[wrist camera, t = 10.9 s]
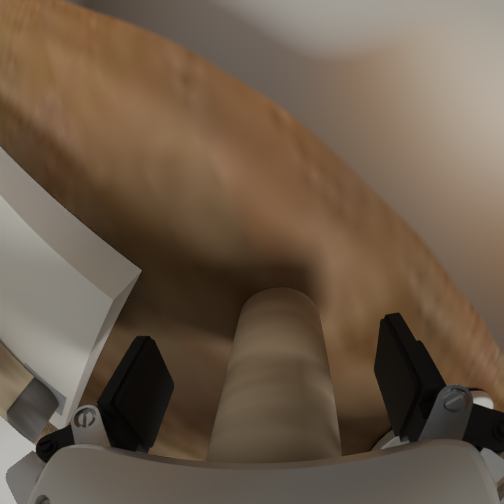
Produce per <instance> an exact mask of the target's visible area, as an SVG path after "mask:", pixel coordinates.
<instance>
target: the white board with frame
mask: <svg viewBox="0 0 504 504" xmlns="http://www.w3.org/2000/svg"><path fill="white" fill-rule="evenodd" d="M141 272H142V270H141V269H140V268H138V267H137V266H136V265H134V264H133V263H132V262H130V261H129V260H128V259H126V258H125V257H124V256H123V255H121V254H120V253H119V252H117V251H116V250H115V249H114V248H112V247H111V246H110V245H109V244H107V243H106V242H105V241H104V240H102V239H101V238H100V237H99V236H97V235H96V234H95V233H94V232H92V231H91V230H90V229H89V228H88V227H86V226H85V225H84V224H83V223H82V222H80V221H79V220H78V219H77V218H76V217H75V216H73V215H72V214H71V213H70V212H69V211H68V210H67V209H65V208H64V207H63V206H62V205H61V204H60V203H59V202H57V201H56V200H55V199H54V198H53V197H52V196H51V195H50V194H49V193H47V192H46V191H45V190H44V189H43V188H42V187H41V186H40V185H39V184H38V183H37V182H36V181H35V180H34V179H32V178H31V177H30V176H29V175H28V174H27V173H26V172H25V171H24V170H23V169H22V168H21V167H20V166H19V165H18V164H17V163H16V162H15V161H14V160H13V159H12V158H11V157H10V156H9V155H8V154H7V153H6V152H5V151H4V150H3V149H2V148H1V147H0V342H1V343H2V344H3V345H4V346H5V347H6V349H7V350H8V351H9V352H10V353H11V354H12V355H13V356H14V357H15V358H16V359H17V360H18V361H19V362H20V363H21V364H22V365H23V366H24V367H25V368H26V369H27V370H28V371H29V372H30V373H31V374H32V375H33V376H34V378H35V379H37V380H38V381H40V382H41V383H42V384H43V385H45V386H46V387H47V388H48V389H49V390H50V391H51V392H52V394H53V395H54V396H55V398H56V399H57V401H58V403H59V406H58V408H57V409H56V411H55V412H54V414H53V415H52V417H51V418H50V420H49V422H50V423H51V424H52V425H54V426H55V427H56V428H58V429H59V430H60V429H62V428H64V427H67V425H68V423H69V422H70V420H71V417H72V414H73V413H74V412H75V411H76V410H77V407H78V405H79V402H80V400H81V397H82V395H83V392H84V390H85V387H86V385H87V383H88V380H89V378H90V375H91V373H92V371H93V369H94V366H95V364H96V362H97V360H98V357H99V355H100V353H101V351H102V349H103V346H104V344H105V342H106V340H107V338H108V336H109V334H110V332H111V330H112V328H113V325H114V323H115V321H116V319H117V317H118V315H119V313H120V311H121V309H122V308H123V306H124V304H125V302H126V300H127V298H128V296H129V294H130V292H131V290H132V288H133V287H134V285H135V283H136V281H137V279H138V277H139V276H140V274H141Z"/></svg>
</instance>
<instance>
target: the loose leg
mask: <svg viewBox="0 0 504 504" xmlns="http://www.w3.org/2000/svg"><path fill="white" fill-rule="evenodd" d="M341 456H342V450H341V442H340V434H339V427H338V420H337V413H336V406H335V399H334V393H333V387H332V381H331V375H330V369H329V363H328V358H327V352H326V347H325V341H324V336H323V331H322V326H321V321H320V316H319V312H318V309H317V307H316V305H315V303H314V302H313V301H312V300H311V299H310V298H309V297H308V296H307V295H305V294H304V293H302V292H300V291H298V290H295V289H292V288H287V287H273V288H268V289H265V290H262V291H260V292H258V293H256V294H254V295H253V296H251V297H250V298H249V299H248V300H247V301H246V303H245V304H244V305H243V307H242V309H241V312H240V316H239V320H238V324H237V329H236V333H235V337H234V342H233V346H232V350H231V354H230V359H229V363H228V367H227V372H226V376H225V380H224V384H223V389H222V393H221V397H220V402H219V406H218V410H217V414H216V419H215V423H214V427H213V431H212V436H211V440H210V444H209V448H208V453H207V457H206V461H205V462H219V463H284V462H299V461H310V460H319V459H327V458H335V457H341Z"/></svg>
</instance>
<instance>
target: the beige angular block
mask: <svg viewBox="0 0 504 504" xmlns="http://www.w3.org/2000/svg"><path fill="white" fill-rule="evenodd" d="M58 406H59V403H58V401H57V399H56V398H55V396H54V395H53V394H52V392H51V391H50V390H49V389H48V388H47V387H46V386H45V385H43V384H42V383H41V382H40V381H38V380H37V379H35V378H34V376H33V375H32V374H31V373H30V372H29V371H28V370H27V369H26V368H25V367H24V366H23V365H22V364H21V363H20V362H19V361H18V360H17V359H16V358H15V357H14V356H13V355H12V354H11V353H10V352H9V351H8V350H7V349H6V347H5V346H4V345H3V344H2V343H1V342H0V415H1V416H2V417H3V418H4V419H5V420H6V421H7V422H9V423H10V424H11V425H12V426H13V427H14V428H15V429H16V430H17V431H18V432H19V433H20V434H21V435H23V436H24V437H25V438H27V439H28V440H30V441H32V442H35V441H36V439H37V438H38V436H39V435H40V433H41V432H42V430H43V429H44V427H45V426H46V424H47V423H48V421H49V420H50V418H51V417H52V415H53V414H54V412H55V411H56V409H57V408H58Z"/></svg>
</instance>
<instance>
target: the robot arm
mask: <svg viewBox="0 0 504 504" xmlns="http://www.w3.org/2000/svg"><path fill="white" fill-rule="evenodd" d="M374 372H375V376H376V379H377V382H378V385H379V388H380V391H381V394H382V397H383V400H384V403H385V406H386V409H387V413H388V416H389V419H390V422H391V426H392V430H391V431H390V432H388V433H387V434H386V435H385V436H384V437H383V438H382V439H381V440H379V441H378V443H377V444H376V445H375V446H374V447H373V449H372V450H371V451H370V452H365V453H359V454H354V455H348V456H341V457H335V458H327V459H319V460H310V461H299V462H284V463H219V462H205V461H193V460H184V459H176V458H169V457H162V456H156V455H150V454H144V453H148V451H149V448H151V447H152V446H153V445H154V442H155V439H156V436H157V434H158V431H159V428H160V425H161V422H162V419H163V417H164V414H165V411H166V408H167V406H168V403H169V400H170V397H171V395H172V392H173V389H174V382H173V380H172V378H171V376H170V373H169V371H168V369H167V367H166V365H165V363H164V360H163V358H162V356H161V354H160V351H159V349H158V347H157V345H156V342H155V340H153V339H151V337H150V336H137V337H136V338H135V339H134V341H133V342H132V344H131V345H130V347H129V349H128V350H127V352H126V354H125V355H124V357H123V359H122V360H121V362H120V364H119V365H118V367H117V369H116V370H115V372H114V374H113V375H112V377H111V379H110V380H109V382H108V384H107V386H106V387H105V389H104V391H103V392H102V394H101V396H100V398H99V399H98V401H97V403H98V406H97V407H95V406H93V405H84V406H81V407H80V408H78V409H77V410H76V411H75V412H74V413H73V414H72V417H71V425H69V426H67V427H64V428H62V429H60V430H58V431H55V432H53V433H51V434H48V435H46V436H44V437H42V438H41V439H40V440H39V441H38V443H37V445H36V452H34V451H32V452H30V453H29V454H28V455H26V456H25V457H24V458H22V459H21V460H20V461H18V462H17V463H16V464H14V465H13V466H12V467H10V468H9V469H8V471H7V473H6V481H7V483H8V486H9V488H10V490H11V492H12V494H13V496H14V498H15V500H16V502H17V504H504V413H503V412H500V411H497V410H493V402H492V400H491V398H490V396H489V395H488V394H487V393H486V392H483V391H469V390H468V389H467V388H466V387H464V386H461V385H456V384H454V385H449V386H446V384H445V382H444V380H443V378H442V376H441V375H440V373H439V371H438V369H437V367H436V365H435V364H434V362H433V360H432V358H431V357H430V355H429V353H428V351H427V350H426V348H425V346H424V345H423V343H422V342H421V341H420V340H418V341H416V339H415V338H414V336H413V334H412V333H411V331H410V329H409V328H408V326H407V324H406V323H405V321H404V319H403V318H402V316H401V314H400V313H393V314H387V315H385V317H384V319H381V321H380V329H379V337H378V345H377V352H376V358H375V365H374ZM136 451H138V452H136ZM139 452H143V453H139Z"/></svg>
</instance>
